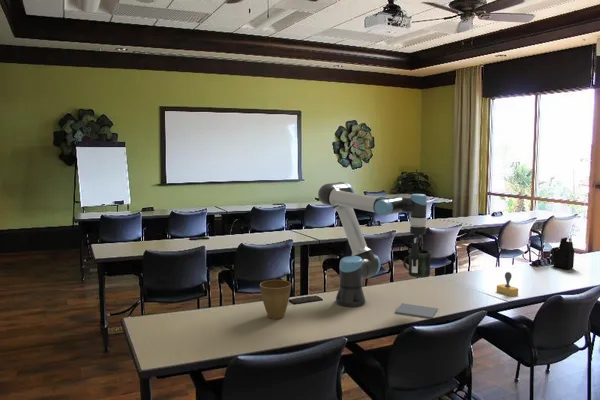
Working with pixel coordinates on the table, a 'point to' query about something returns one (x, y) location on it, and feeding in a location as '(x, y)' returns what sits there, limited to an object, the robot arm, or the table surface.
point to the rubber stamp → (507, 286)
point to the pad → (416, 310)
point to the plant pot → (275, 297)
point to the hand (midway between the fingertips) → (416, 269)
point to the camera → (563, 255)
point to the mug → (419, 263)
